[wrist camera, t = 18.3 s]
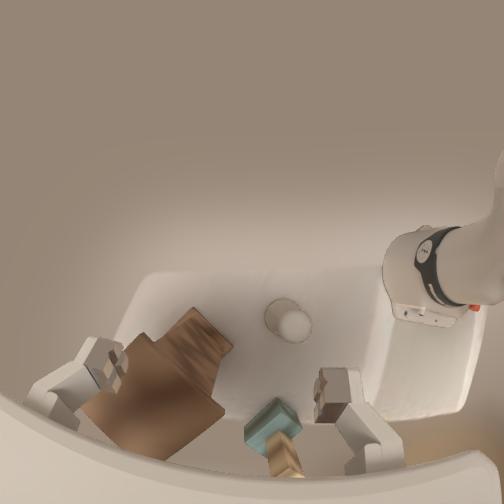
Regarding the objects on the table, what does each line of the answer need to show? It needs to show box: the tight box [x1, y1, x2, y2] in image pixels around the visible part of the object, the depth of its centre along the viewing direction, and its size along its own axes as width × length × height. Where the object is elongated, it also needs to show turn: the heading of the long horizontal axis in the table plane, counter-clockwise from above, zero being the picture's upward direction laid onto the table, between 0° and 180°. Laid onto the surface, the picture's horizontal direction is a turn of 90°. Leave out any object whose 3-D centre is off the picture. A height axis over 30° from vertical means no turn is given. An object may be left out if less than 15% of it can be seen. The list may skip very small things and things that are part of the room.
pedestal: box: [80, 307, 233, 461], centre depth 32 cm, size 9×10×26 cm
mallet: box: [244, 398, 305, 478], centre depth 36 cm, size 17×8×5 cm
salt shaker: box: [265, 299, 312, 344], centre depth 40 cm, size 6×6×13 cm
